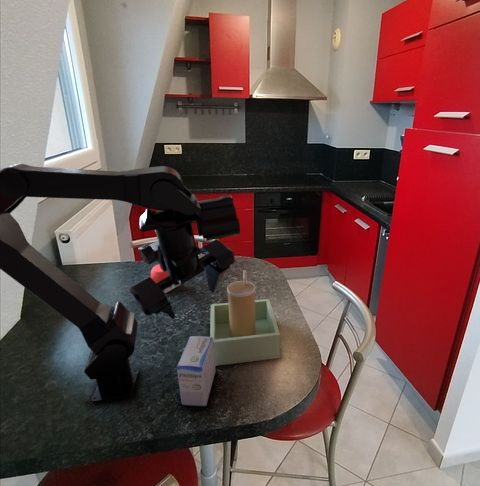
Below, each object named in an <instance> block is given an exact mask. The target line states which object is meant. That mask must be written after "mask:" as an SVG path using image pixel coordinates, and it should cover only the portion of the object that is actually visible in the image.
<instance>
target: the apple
mask: <svg viewBox="0 0 480 486" xmlns="http://www.w3.org/2000/svg"><path fill="white" fill-rule="evenodd" d="M168 276H169V275H168V272H167V271H165V272H164V271H163V270H162V269H161V268H160V265H159V263H158V264H156V265H155V266H153V267H152V269H151V270H150V277H151V278H152V280H153V281H154V282H155V283H158V282H159V281H161V280H163V279H164V278H166V277H168Z"/></svg>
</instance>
